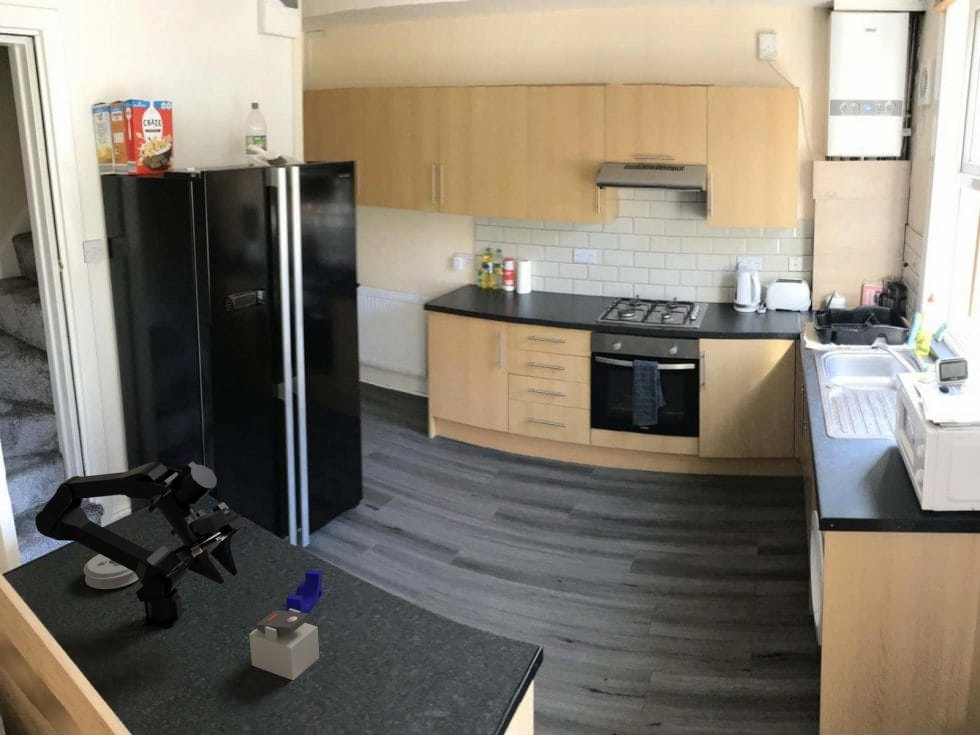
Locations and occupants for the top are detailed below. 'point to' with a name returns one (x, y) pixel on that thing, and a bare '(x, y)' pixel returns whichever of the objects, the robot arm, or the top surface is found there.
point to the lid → (107, 573)
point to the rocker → (283, 621)
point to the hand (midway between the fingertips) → (229, 578)
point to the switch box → (285, 650)
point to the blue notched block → (306, 592)
